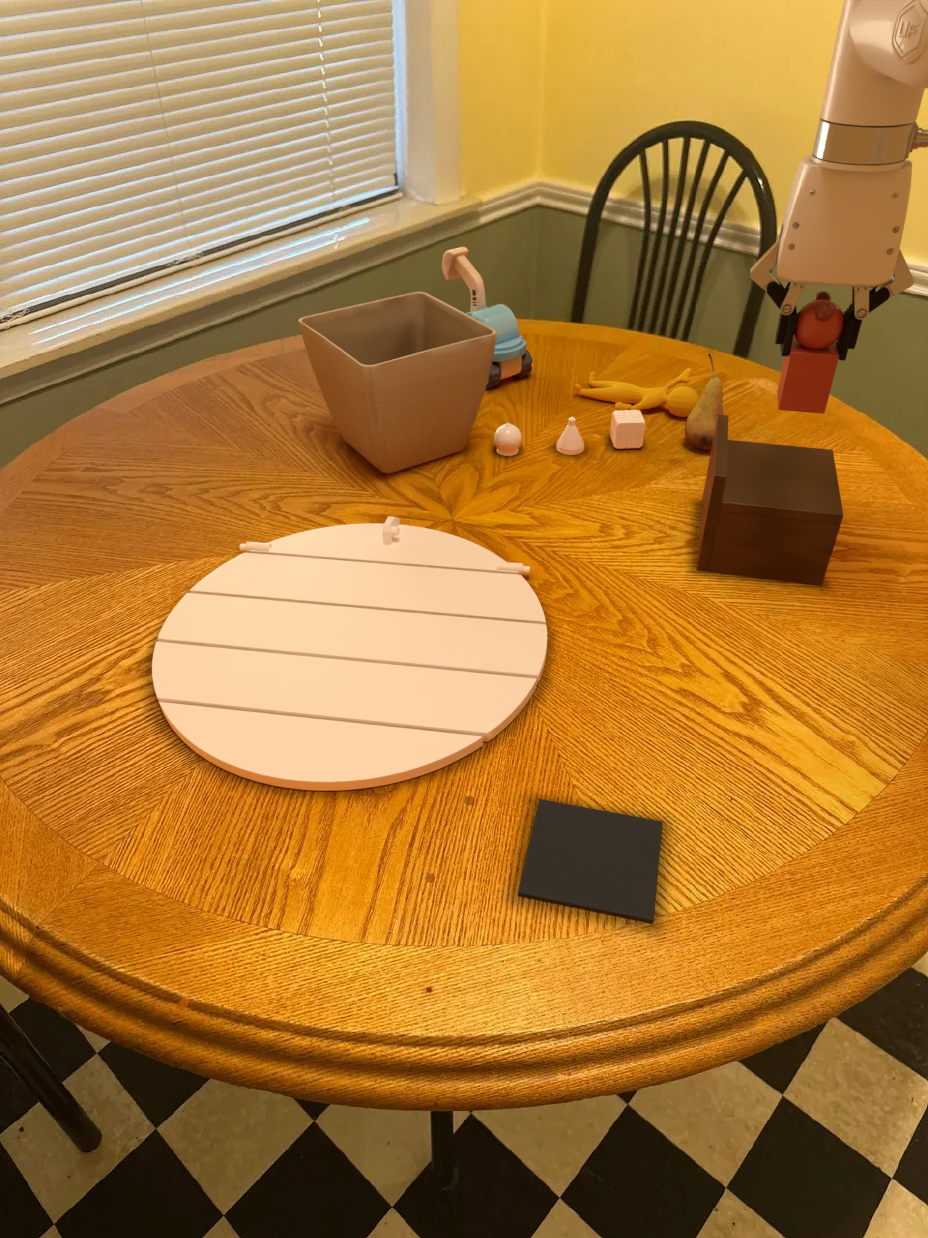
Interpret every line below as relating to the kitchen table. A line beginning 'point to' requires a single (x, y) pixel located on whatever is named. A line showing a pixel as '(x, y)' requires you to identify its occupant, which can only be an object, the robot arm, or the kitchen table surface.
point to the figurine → (645, 395)
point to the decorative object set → (623, 434)
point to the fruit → (705, 414)
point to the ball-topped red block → (811, 357)
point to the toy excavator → (490, 320)
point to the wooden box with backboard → (768, 510)
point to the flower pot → (401, 376)
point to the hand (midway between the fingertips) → (812, 351)
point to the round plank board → (350, 656)
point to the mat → (593, 860)
